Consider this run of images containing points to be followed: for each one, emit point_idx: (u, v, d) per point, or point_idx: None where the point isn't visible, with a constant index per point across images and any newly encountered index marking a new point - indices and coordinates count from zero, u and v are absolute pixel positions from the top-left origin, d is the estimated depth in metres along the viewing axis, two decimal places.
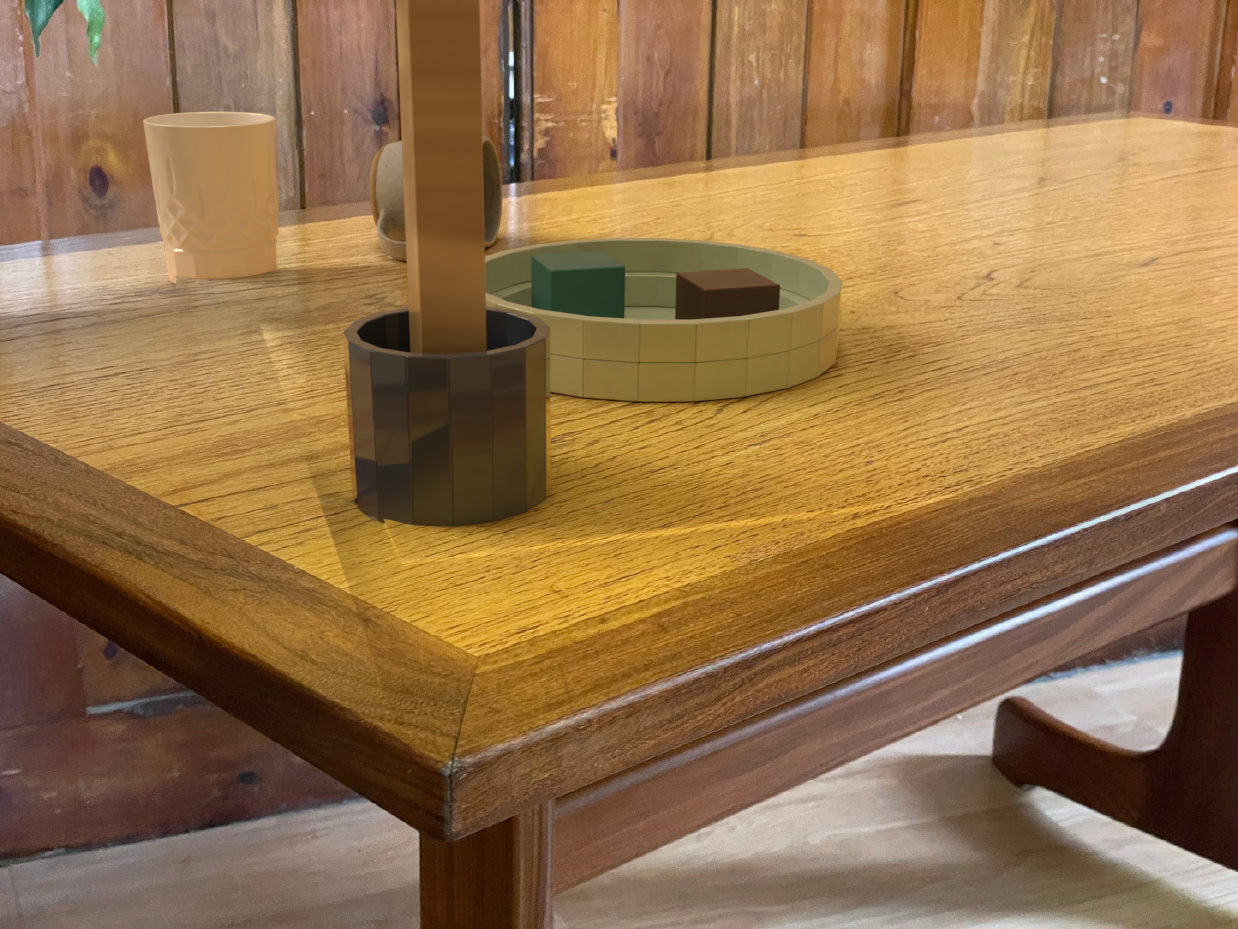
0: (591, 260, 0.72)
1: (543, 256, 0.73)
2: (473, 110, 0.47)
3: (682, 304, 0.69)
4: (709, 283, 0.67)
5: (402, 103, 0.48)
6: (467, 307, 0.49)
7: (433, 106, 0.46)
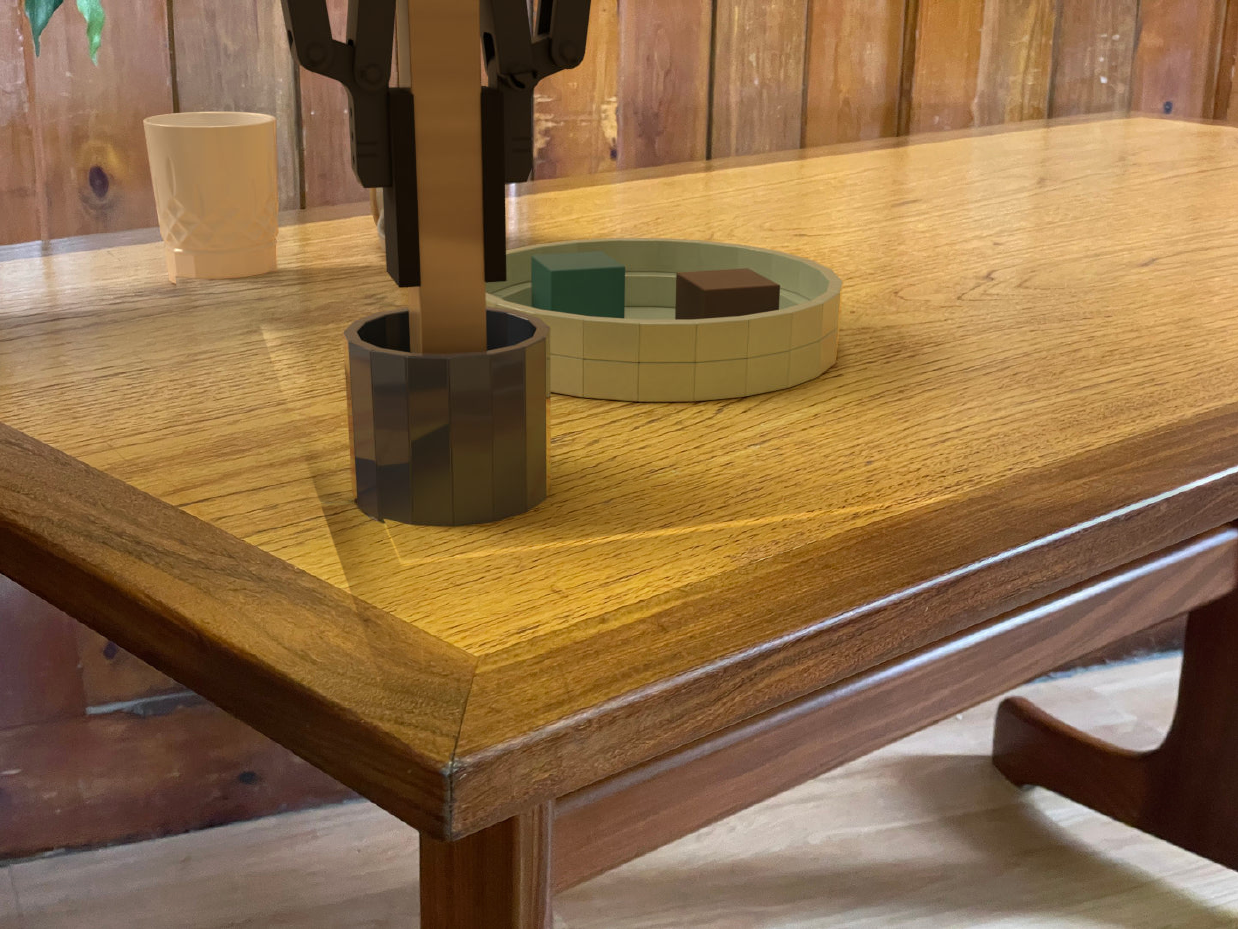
0: (591, 260, 0.72)
1: (543, 256, 0.73)
2: (473, 110, 0.47)
3: (682, 304, 0.69)
4: (709, 283, 0.67)
5: None
6: (467, 307, 0.49)
7: (433, 106, 0.46)
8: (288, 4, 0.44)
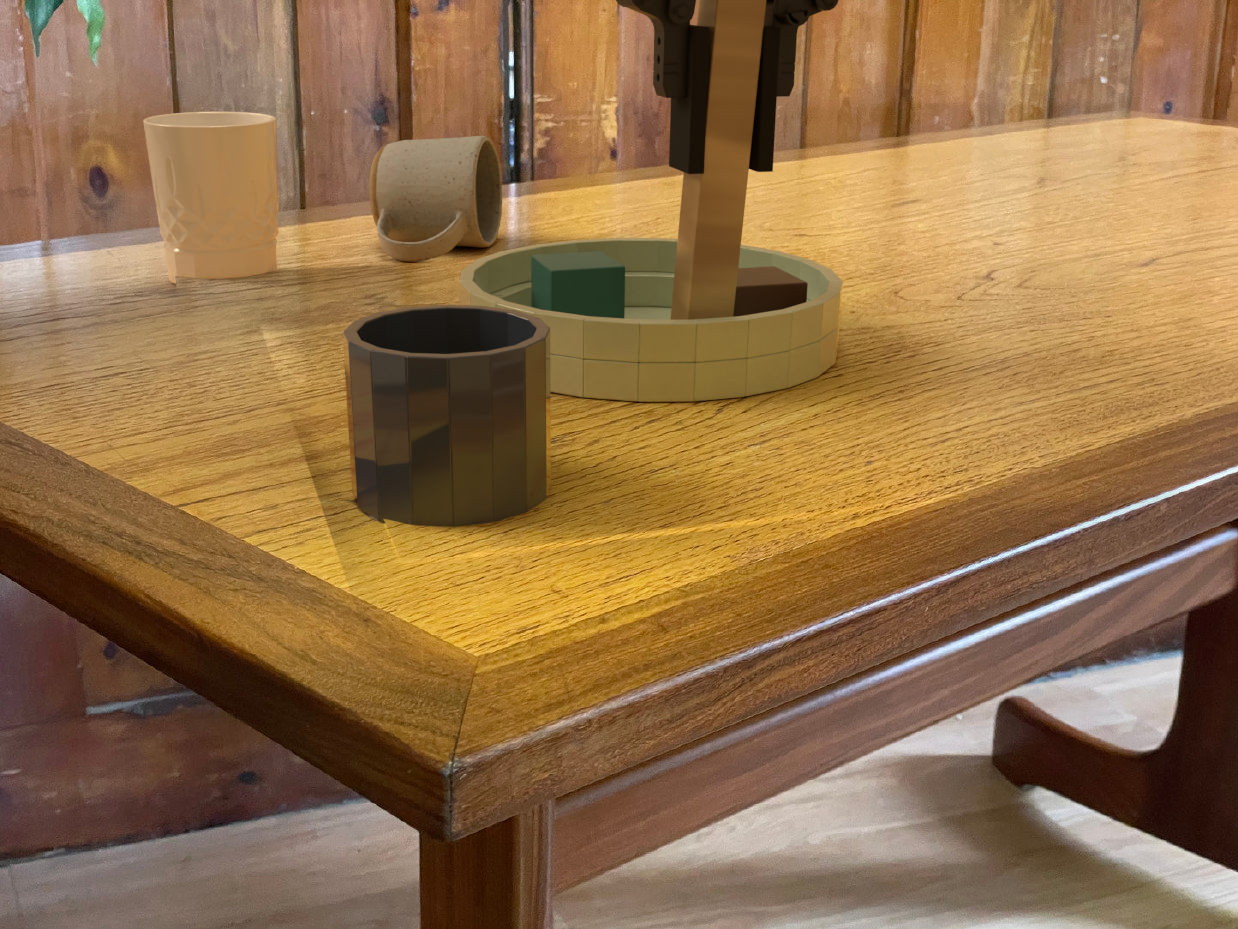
0: (591, 260, 0.72)
1: (543, 256, 0.73)
2: (756, 43, 0.63)
3: None
4: (737, 280, 0.68)
5: None
6: (732, 194, 0.65)
7: (728, 38, 0.62)
8: None
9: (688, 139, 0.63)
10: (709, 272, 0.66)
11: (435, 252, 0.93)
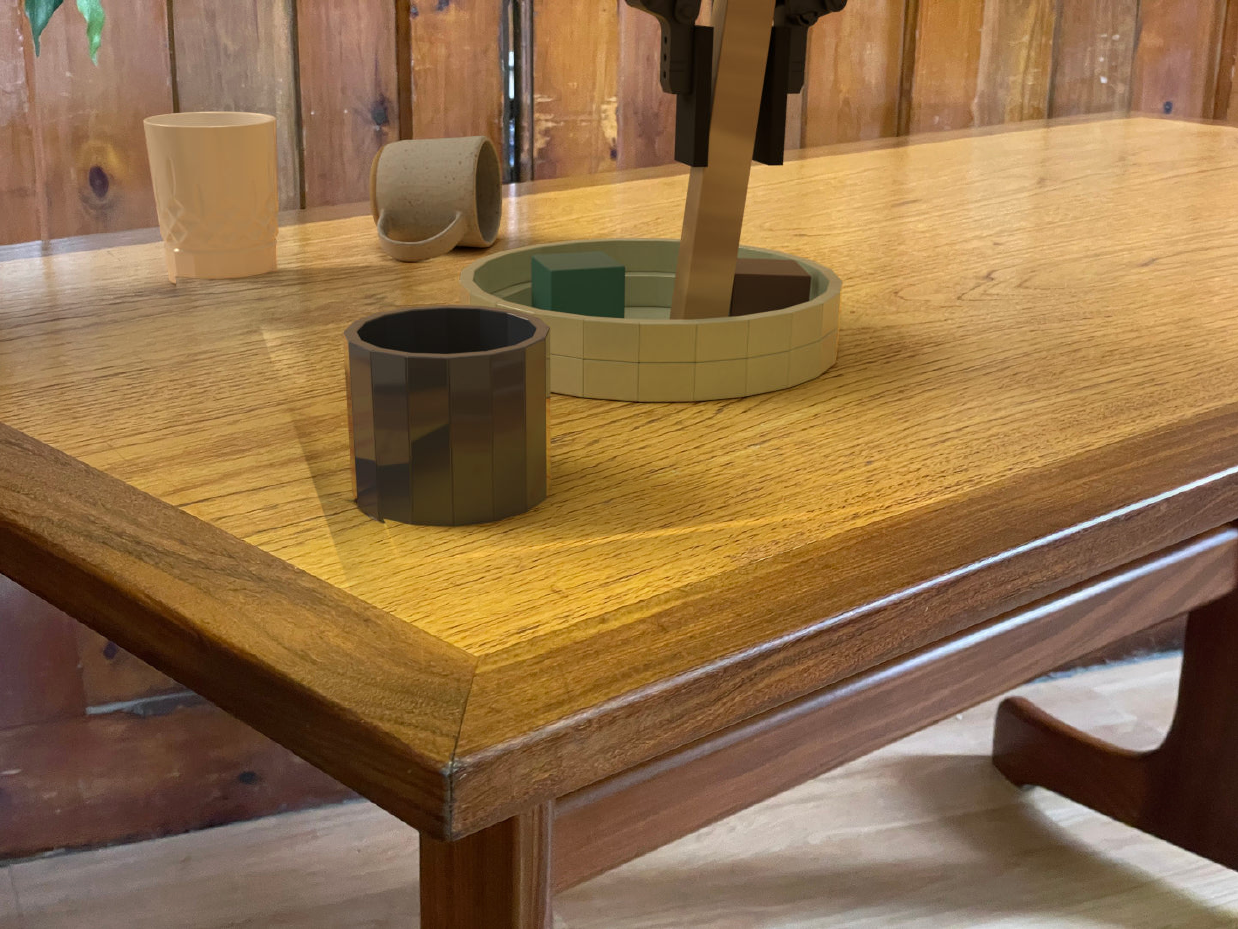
0: (591, 260, 0.72)
1: (543, 256, 0.73)
2: (763, 43, 0.66)
3: None
4: (743, 268, 0.70)
5: None
6: (734, 186, 0.67)
7: (737, 36, 0.65)
8: None
9: (693, 134, 0.66)
10: (708, 260, 0.68)
11: (435, 252, 0.93)
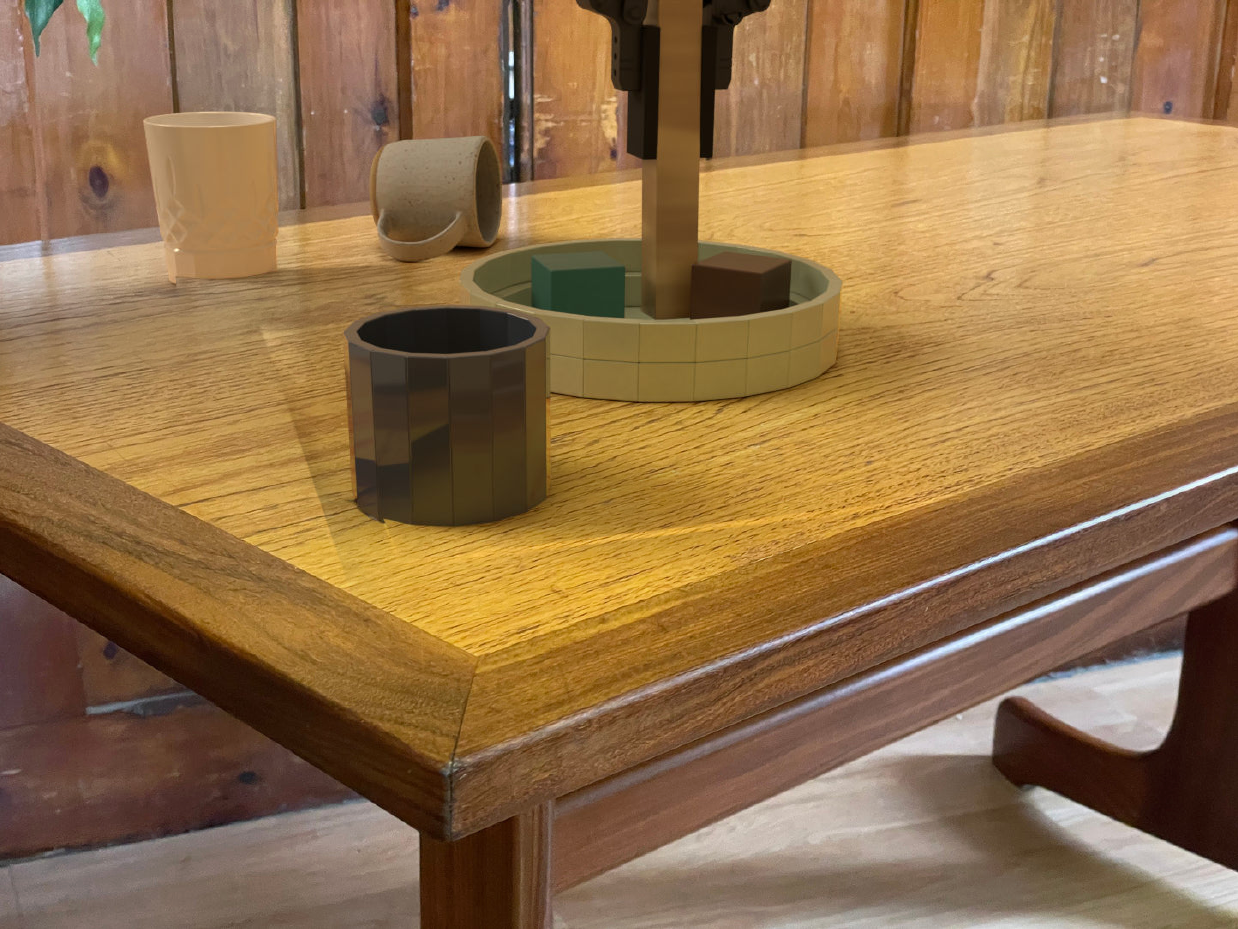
0: (591, 260, 0.72)
1: (543, 256, 0.73)
2: (696, 40, 0.70)
3: None
4: (712, 261, 0.72)
5: None
6: (687, 177, 0.72)
7: (671, 37, 0.69)
8: None
9: (642, 128, 0.70)
10: (672, 250, 0.73)
11: (435, 252, 0.93)
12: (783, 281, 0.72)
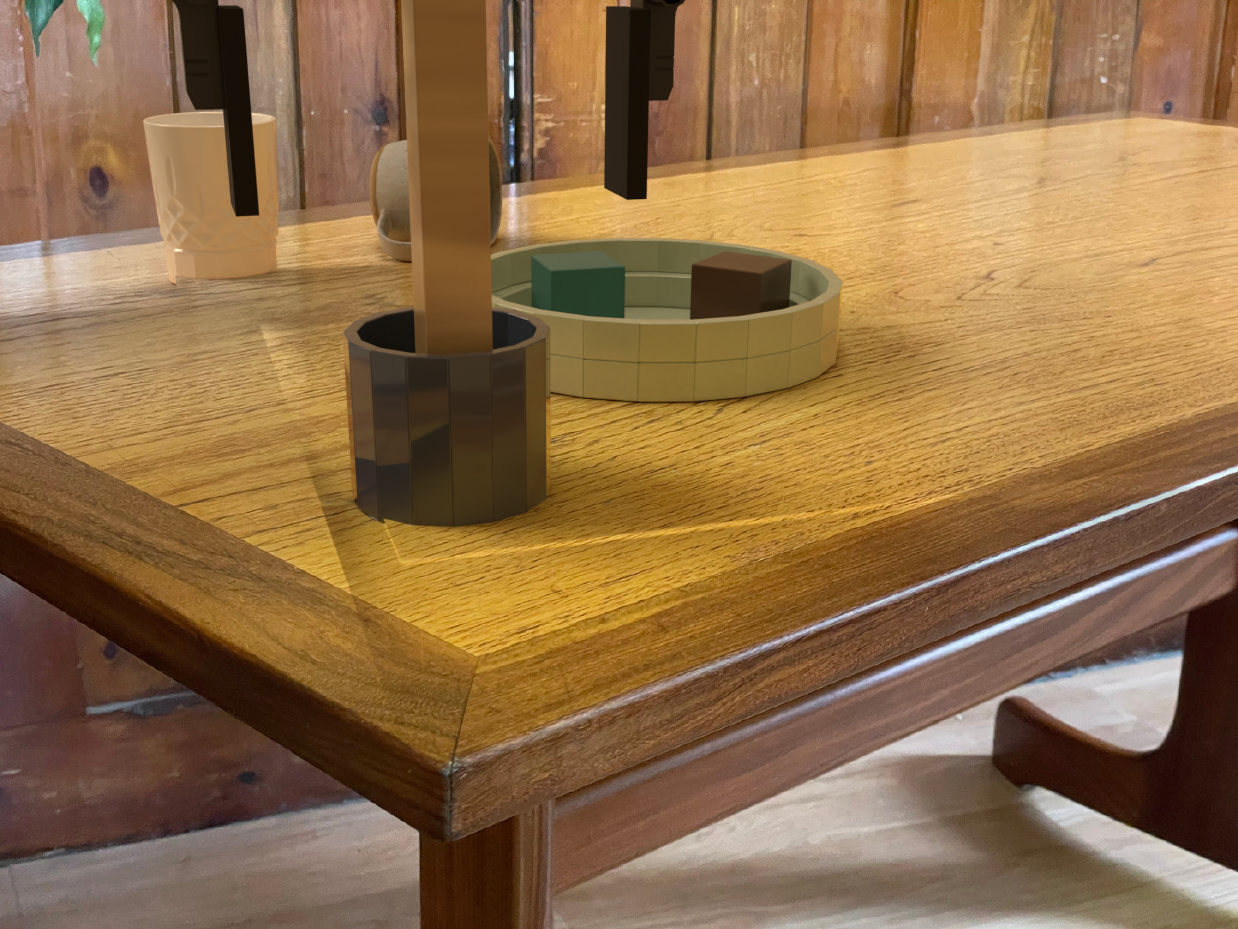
0: (591, 260, 0.72)
1: (543, 256, 0.73)
2: (479, 111, 0.46)
3: None
4: (712, 261, 0.72)
5: (407, 105, 0.47)
6: (473, 311, 0.48)
7: (438, 108, 0.46)
8: None
9: (231, 168, 0.45)
10: None
11: None
12: (783, 281, 0.72)
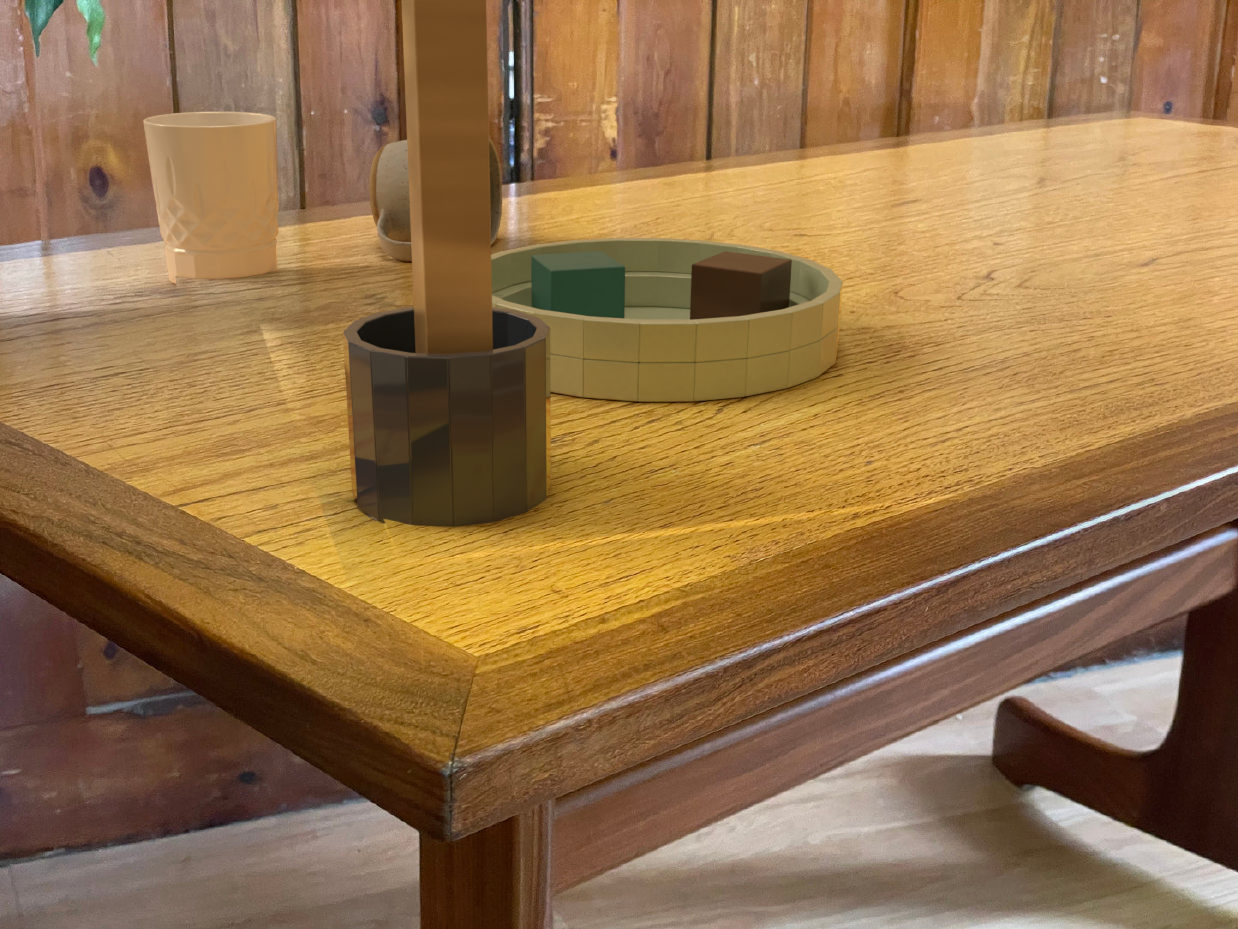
0: (591, 260, 0.72)
1: (543, 256, 0.73)
2: (479, 112, 0.46)
3: None
4: (712, 261, 0.72)
5: (408, 105, 0.47)
6: (473, 312, 0.48)
7: (439, 109, 0.46)
8: None
9: None
10: None
11: None
12: (783, 281, 0.72)
